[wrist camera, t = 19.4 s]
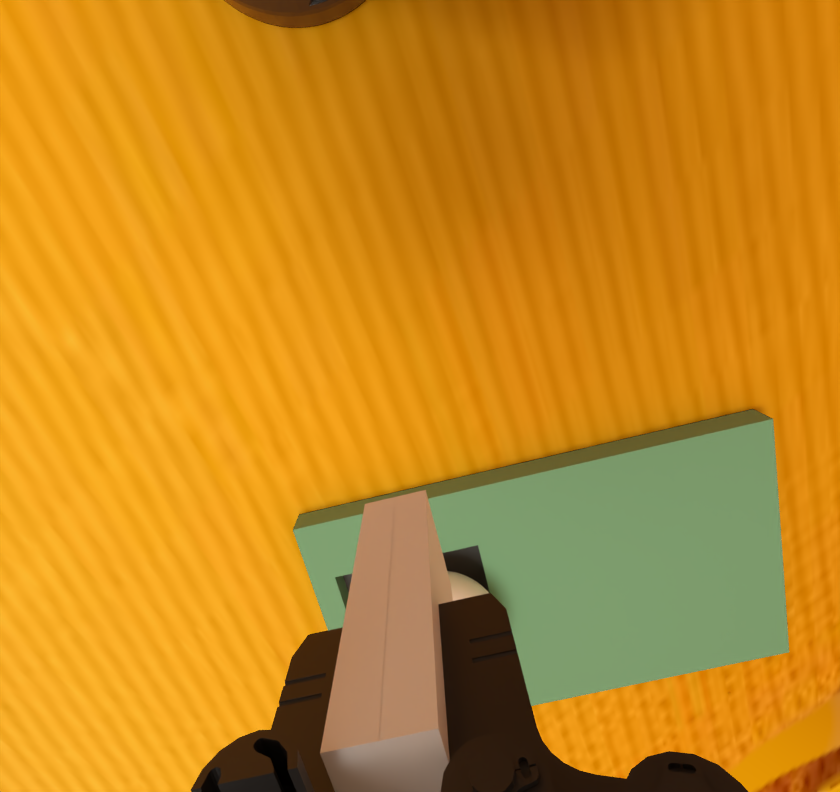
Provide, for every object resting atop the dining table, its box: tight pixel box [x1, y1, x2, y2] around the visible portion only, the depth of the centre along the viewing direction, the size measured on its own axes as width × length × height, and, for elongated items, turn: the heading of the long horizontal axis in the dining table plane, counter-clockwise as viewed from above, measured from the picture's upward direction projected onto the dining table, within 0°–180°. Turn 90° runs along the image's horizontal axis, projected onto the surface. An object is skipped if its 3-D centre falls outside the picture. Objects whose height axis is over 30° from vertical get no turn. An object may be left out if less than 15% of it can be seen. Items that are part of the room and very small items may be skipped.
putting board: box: [293, 409, 789, 706], centre depth 46 cm, size 38×22×2 cm, turn 104°
